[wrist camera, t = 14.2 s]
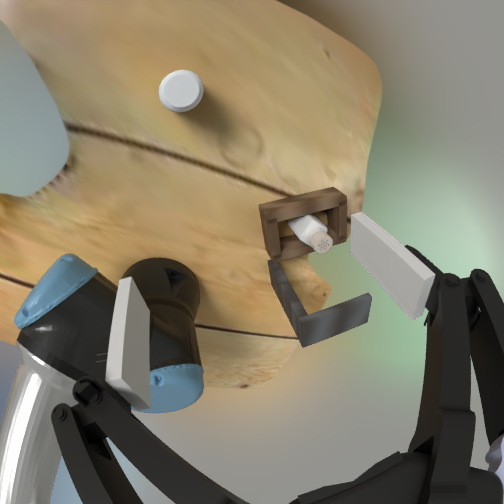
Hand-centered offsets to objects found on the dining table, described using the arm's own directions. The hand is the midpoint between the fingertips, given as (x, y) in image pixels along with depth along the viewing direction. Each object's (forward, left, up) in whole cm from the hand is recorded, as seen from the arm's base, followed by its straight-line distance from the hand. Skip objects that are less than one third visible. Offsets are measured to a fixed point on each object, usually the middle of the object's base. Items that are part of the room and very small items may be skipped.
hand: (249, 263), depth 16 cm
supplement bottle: (-1, +10, -29) cm, 31 cm away
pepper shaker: (+14, -15, -29) cm, 35 cm away
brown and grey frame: (+14, -19, -29) cm, 37 cm away
